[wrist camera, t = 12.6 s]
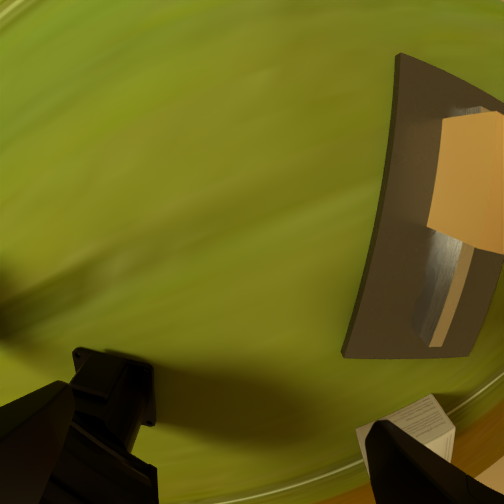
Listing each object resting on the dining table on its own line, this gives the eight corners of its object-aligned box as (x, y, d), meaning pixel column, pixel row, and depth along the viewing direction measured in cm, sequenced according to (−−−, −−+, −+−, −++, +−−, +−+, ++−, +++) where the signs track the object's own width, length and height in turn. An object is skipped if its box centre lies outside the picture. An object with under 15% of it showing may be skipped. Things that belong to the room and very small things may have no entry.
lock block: (480, 239, 17) (529, 261, 12) (426, 226, 17) (477, 248, 12) (495, 143, 16) (547, 145, 11) (442, 118, 15) (496, 111, 10)
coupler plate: (463, 351, 21) (478, 366, 19) (340, 351, 20) (350, 372, 18) (516, 116, 16) (536, 115, 13) (395, 56, 15) (412, 44, 13)
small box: (432, 435, 24) (450, 468, 19) (364, 466, 25) (376, 503, 20) (432, 390, 22) (458, 426, 17) (353, 426, 23) (368, 470, 18)
